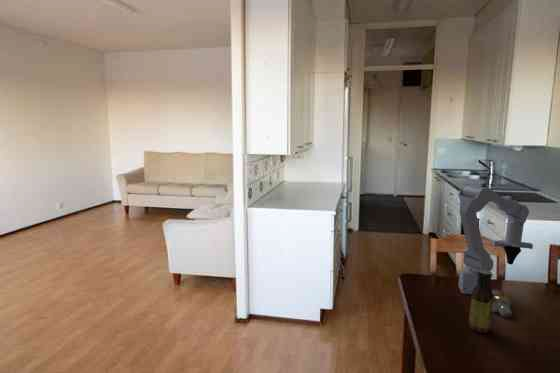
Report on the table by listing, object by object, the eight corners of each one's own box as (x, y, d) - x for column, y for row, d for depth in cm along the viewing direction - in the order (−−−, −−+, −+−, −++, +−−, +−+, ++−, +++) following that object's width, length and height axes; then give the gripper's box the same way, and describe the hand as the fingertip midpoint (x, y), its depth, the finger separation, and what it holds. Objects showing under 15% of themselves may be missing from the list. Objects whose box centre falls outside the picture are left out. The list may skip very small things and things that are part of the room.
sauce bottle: (492, 335, 122) (500, 277, 119) (471, 332, 124) (478, 275, 120) (485, 324, 129) (492, 269, 125) (465, 322, 130) (472, 267, 126)
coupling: (494, 308, 140) (496, 299, 139) (491, 302, 144) (493, 293, 143) (509, 310, 139) (511, 301, 138) (506, 303, 143) (508, 294, 142)
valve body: (493, 315, 134) (495, 304, 133) (482, 297, 148) (483, 287, 147) (511, 318, 133) (512, 306, 132) (497, 299, 147) (499, 288, 146)
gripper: (499, 233, 153) (494, 265, 155) (538, 236, 150) (533, 268, 153) (492, 228, 160) (488, 259, 162) (529, 231, 157) (525, 262, 160)
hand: (509, 263), depth 158 cm, fingers closed
